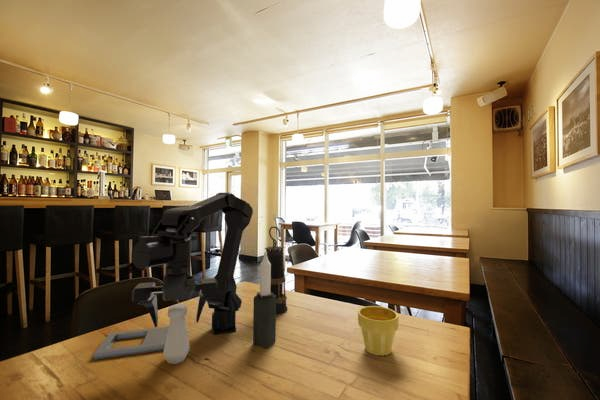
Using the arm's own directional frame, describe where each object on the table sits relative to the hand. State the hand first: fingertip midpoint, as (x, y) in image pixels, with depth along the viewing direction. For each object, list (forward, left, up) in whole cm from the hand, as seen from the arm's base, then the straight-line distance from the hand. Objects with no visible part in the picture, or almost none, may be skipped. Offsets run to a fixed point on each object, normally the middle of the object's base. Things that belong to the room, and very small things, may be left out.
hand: (177, 324), depth 69 cm
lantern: (-30, -24, -9) cm, 39 cm away
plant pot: (-50, +10, -9) cm, 52 cm away
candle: (-22, -2, -9) cm, 24 cm away
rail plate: (+9, -11, -8) cm, 17 cm away
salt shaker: (0, 0, -9) cm, 9 cm away
